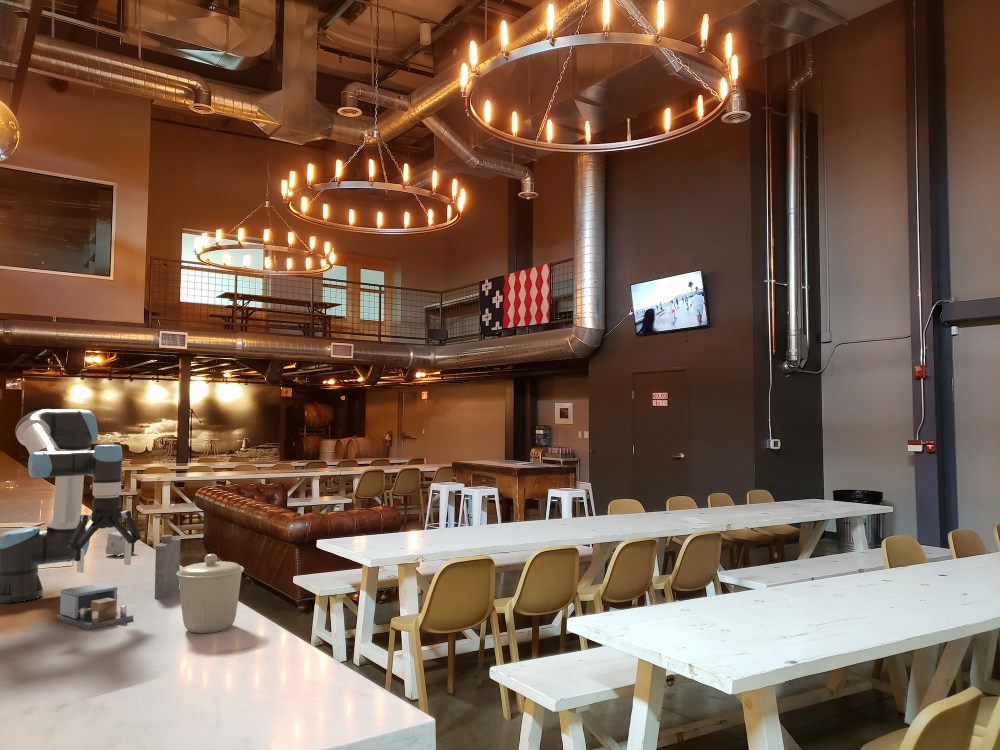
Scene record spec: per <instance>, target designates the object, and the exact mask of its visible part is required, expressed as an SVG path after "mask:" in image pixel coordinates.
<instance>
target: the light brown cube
mask: <svg viewBox="0 0 1000 750" xmlns="http://www.w3.org/2000/svg"><path fill="white" fill-rule="evenodd" d="M94 611H99V616H98V621H99V620H104V619H109V618H114V617H116V600H115V599H112V598H104V599H98V600H93V601H91V618H92V612H94Z"/></svg>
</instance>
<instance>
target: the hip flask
mask: <svg viewBox="0 0 1000 750" xmlns="http://www.w3.org/2000/svg"><path fill="white" fill-rule="evenodd" d="M160 539H161V542H160V543H158V544H155V565H154V567H155V570H154V599H156V598H160V599H164V598H166V597H167V596H168V595H169V594H171V593H173V592H175V591H177V589H178V590H180V585H179V577H178V576H177V575H176V573H177V572H178V571H180V570H181V567H180V566H181V538H173V535H172V534H163V535H160ZM174 590H175V591H174ZM172 591H173V592H172ZM170 592H171V593H170ZM167 594H168V595H167ZM163 597H164V598H163Z"/></svg>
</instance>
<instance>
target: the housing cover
mask: <svg viewBox="0 0 1000 750" xmlns="http://www.w3.org/2000/svg"><path fill="white" fill-rule="evenodd" d="M104 598H112V599H115V600H116V610H117V609H118V608H117V607H118V604H117V603H118V586H116V585H111V584H108V583H104V582H99V583H94V584H87V585H80V586H75V587H69V588H64V589H60V599H59V600H60V602H59V604H60V605H59V607H60V609H59V614H63V615H66V616H69V617H72V618H78V610H80V608H82V607H86V609H88V608H91V601H93V600H98V599H104Z"/></svg>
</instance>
